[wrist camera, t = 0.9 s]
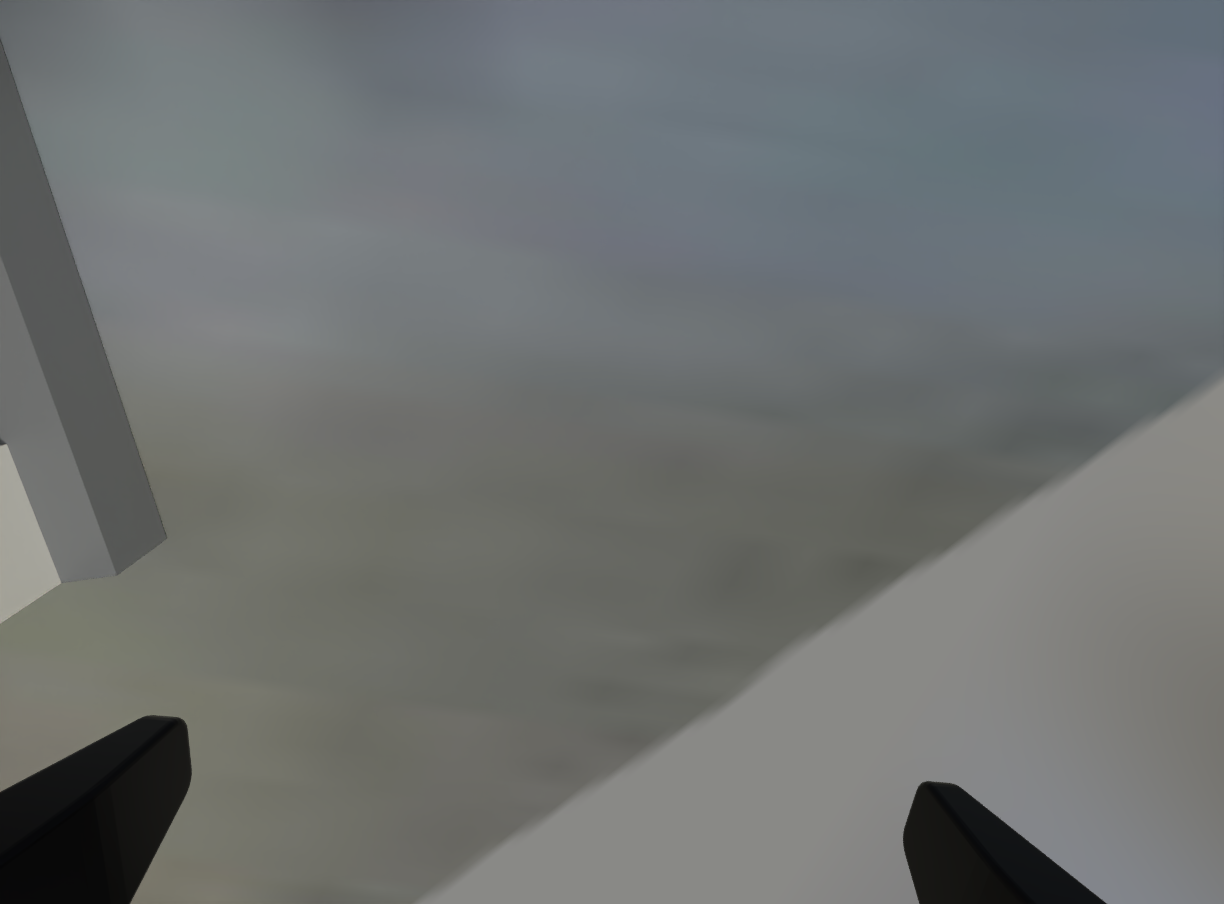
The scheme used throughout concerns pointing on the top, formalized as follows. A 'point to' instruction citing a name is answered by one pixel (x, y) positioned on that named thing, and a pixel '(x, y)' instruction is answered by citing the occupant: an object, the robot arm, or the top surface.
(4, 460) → the plug
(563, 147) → the top surface
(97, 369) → the grey board
